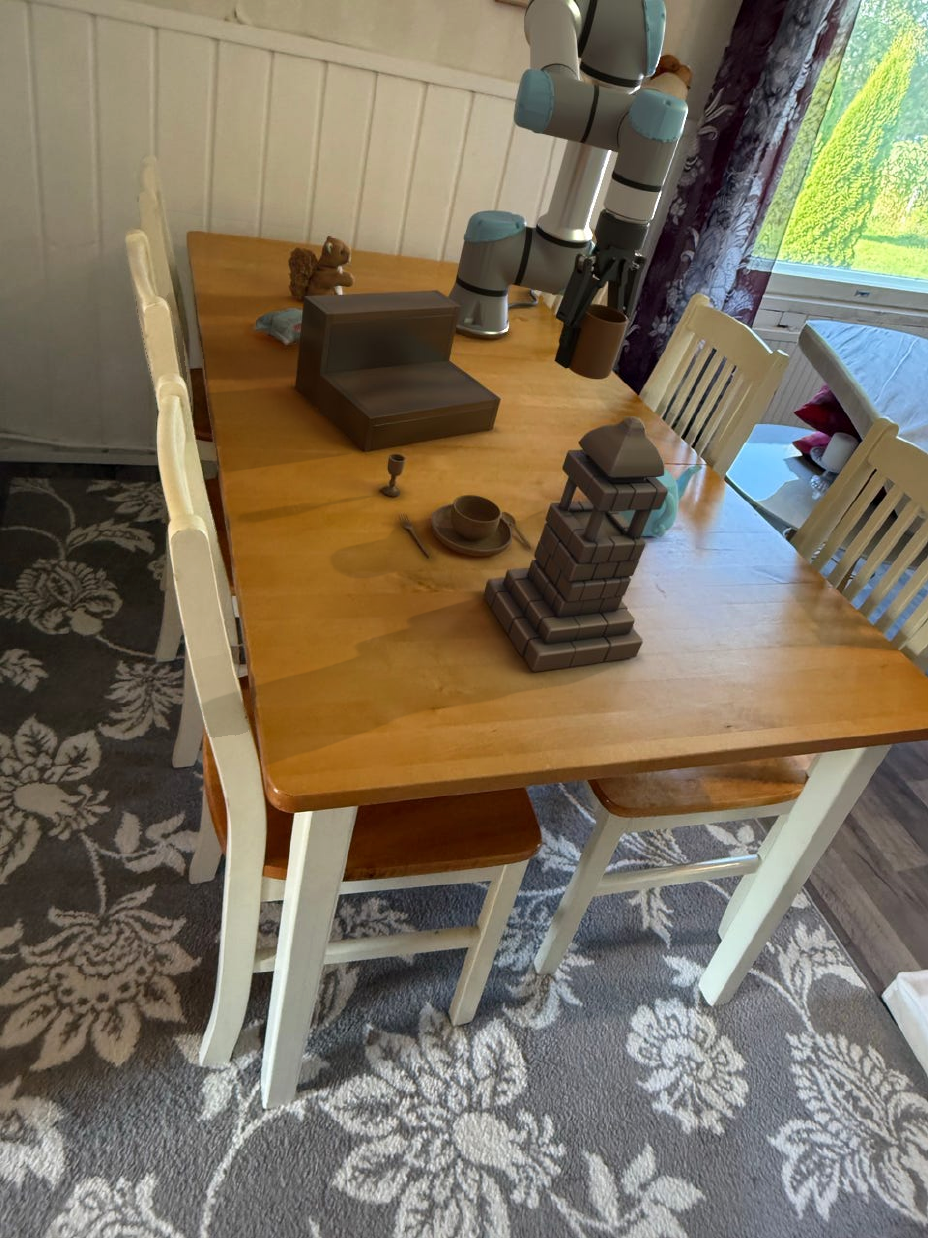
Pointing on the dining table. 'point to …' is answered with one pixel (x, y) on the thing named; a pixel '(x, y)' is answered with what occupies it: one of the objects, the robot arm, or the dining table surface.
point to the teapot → (665, 504)
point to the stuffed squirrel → (320, 270)
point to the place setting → (462, 520)
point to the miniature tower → (585, 555)
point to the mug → (598, 342)
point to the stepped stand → (389, 368)
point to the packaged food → (282, 325)
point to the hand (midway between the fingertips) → (579, 361)
